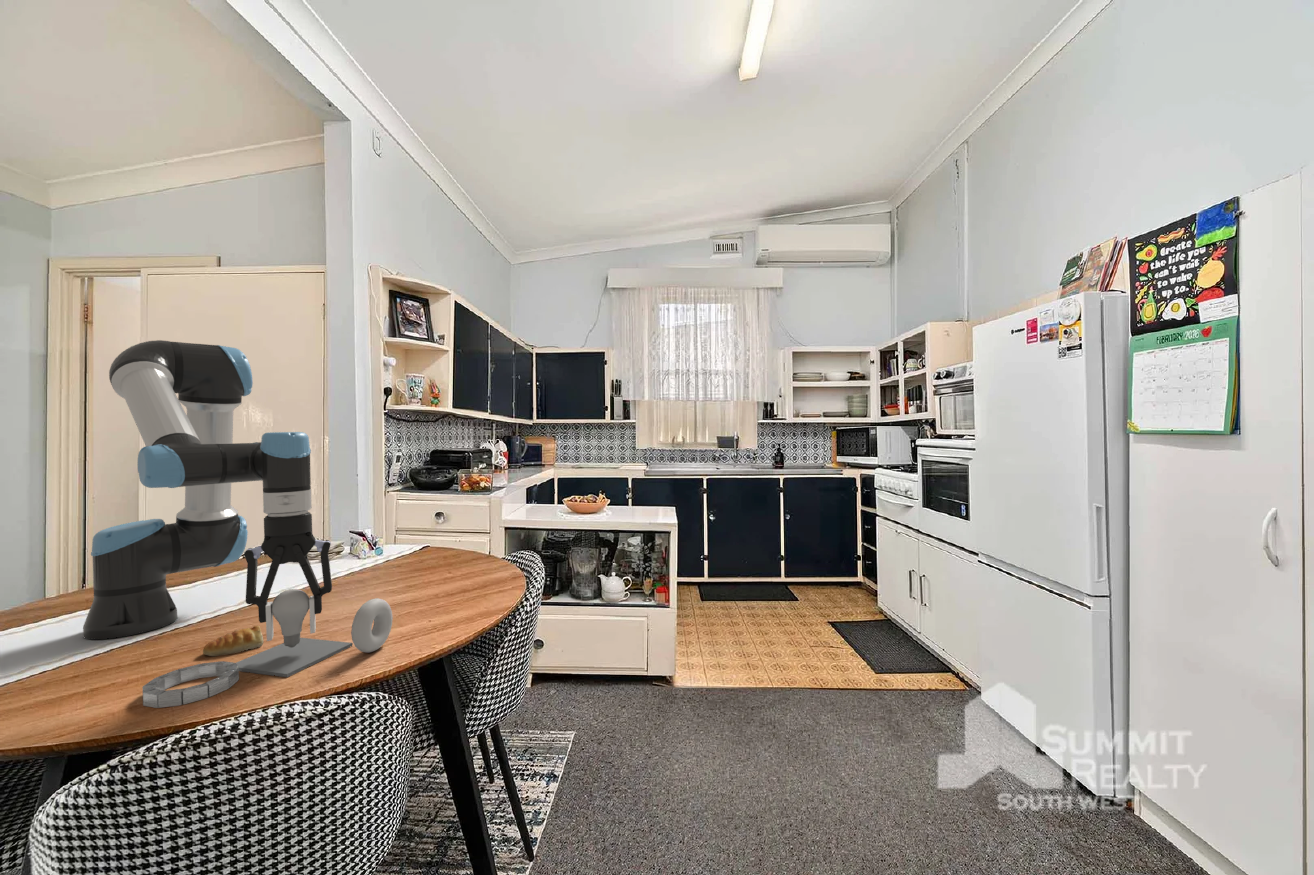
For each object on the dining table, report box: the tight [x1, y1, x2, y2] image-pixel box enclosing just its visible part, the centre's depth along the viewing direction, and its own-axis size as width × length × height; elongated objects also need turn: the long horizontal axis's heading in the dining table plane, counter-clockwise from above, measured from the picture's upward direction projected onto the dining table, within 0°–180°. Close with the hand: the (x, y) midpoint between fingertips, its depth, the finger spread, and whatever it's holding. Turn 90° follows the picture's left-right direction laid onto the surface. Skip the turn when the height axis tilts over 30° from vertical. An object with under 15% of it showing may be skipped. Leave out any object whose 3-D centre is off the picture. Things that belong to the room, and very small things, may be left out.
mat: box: [235, 637, 354, 678], centre depth 102 cm, size 14×14×1 cm
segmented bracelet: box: [142, 660, 240, 709], centre depth 90 cm, size 12×12×2 cm
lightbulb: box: [271, 588, 310, 648], centre depth 102 cm, size 6×6×11 cm
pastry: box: [202, 625, 264, 657], centre depth 107 cm, size 9×7×4 cm
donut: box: [350, 597, 393, 654], centre depth 104 cm, size 10×4×10 cm, turn 174°
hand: (291, 634), depth 102 cm, fingers closed on lightbulb, 6 cm apart
